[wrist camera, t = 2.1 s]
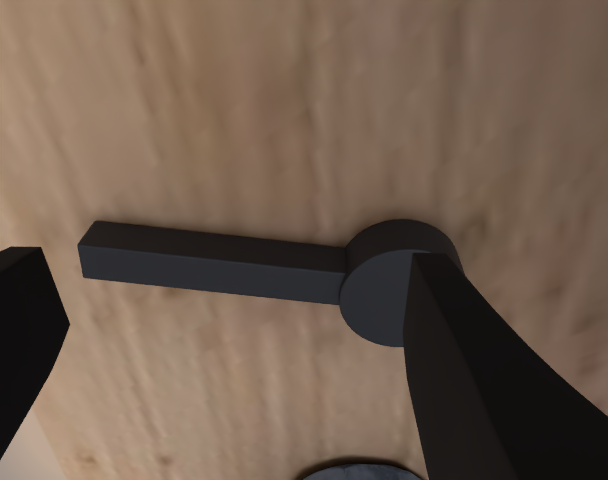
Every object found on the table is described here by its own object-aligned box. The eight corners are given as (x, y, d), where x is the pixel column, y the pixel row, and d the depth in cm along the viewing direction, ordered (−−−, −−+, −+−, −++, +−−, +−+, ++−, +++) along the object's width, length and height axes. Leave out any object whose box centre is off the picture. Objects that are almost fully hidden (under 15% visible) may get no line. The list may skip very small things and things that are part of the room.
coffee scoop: (104, 282, 22) (85, 314, 20) (88, 184, 19) (65, 211, 17) (441, 319, 22) (450, 353, 20) (473, 226, 19) (486, 257, 18)
